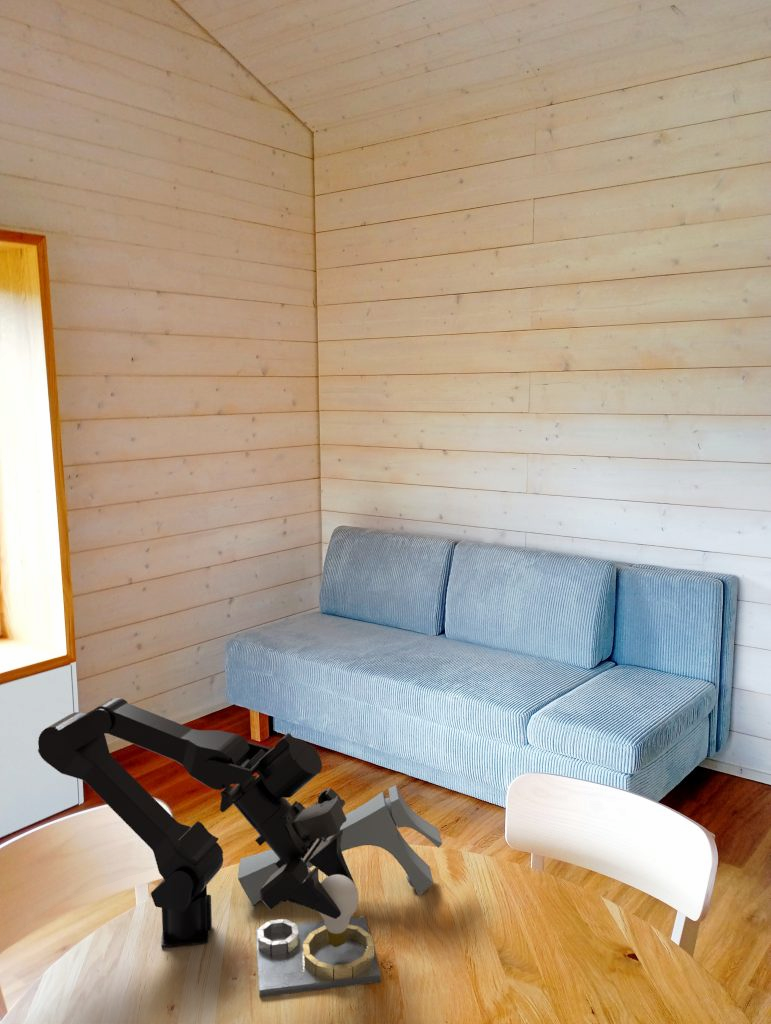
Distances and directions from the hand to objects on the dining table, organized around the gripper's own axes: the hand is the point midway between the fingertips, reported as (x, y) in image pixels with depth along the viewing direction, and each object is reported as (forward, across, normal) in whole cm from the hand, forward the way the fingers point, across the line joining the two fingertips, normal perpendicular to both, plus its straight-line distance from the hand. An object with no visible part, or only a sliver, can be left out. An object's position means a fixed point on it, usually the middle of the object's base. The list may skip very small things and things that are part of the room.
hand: (346, 903), depth 116 cm
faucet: (+2, +16, +11) cm, 20 cm away
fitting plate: (+3, 0, +10) cm, 10 cm away
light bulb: (+4, 0, +6) cm, 7 cm away
